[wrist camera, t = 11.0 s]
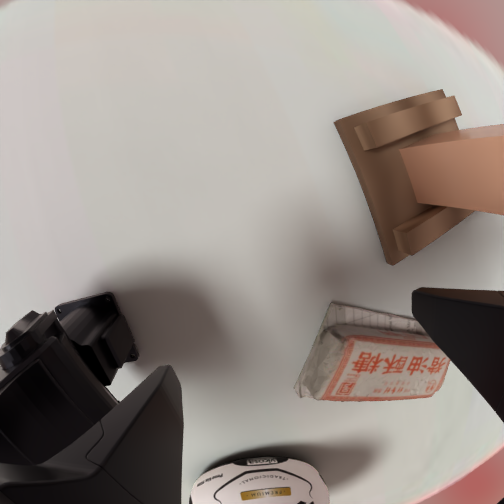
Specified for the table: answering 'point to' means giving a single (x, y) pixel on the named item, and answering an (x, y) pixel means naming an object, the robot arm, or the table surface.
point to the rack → (399, 169)
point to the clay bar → (459, 169)
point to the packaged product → (371, 358)
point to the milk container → (261, 483)
